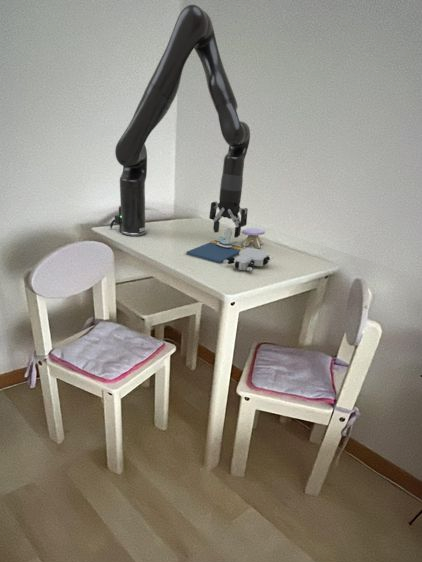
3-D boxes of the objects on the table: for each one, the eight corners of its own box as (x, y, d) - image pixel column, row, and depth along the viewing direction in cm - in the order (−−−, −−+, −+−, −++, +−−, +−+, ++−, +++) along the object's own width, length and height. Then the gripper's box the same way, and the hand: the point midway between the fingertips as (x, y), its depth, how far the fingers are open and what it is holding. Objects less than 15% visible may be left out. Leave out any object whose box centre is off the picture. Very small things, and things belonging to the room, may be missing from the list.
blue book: (186, 254, 151) (186, 251, 151) (215, 242, 166) (215, 239, 165) (220, 263, 146) (220, 260, 145) (246, 250, 160) (247, 247, 160)
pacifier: (228, 250, 156) (238, 246, 160) (230, 232, 153) (239, 229, 156) (213, 245, 160) (222, 241, 164) (214, 228, 156) (223, 225, 160)
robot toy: (250, 279, 138) (274, 265, 147) (252, 266, 135) (276, 253, 145) (220, 269, 144) (245, 256, 153) (220, 256, 141) (246, 244, 151)
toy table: (245, 249, 162) (247, 233, 159) (235, 242, 169) (237, 227, 166) (268, 248, 165) (270, 233, 162) (257, 241, 172) (259, 226, 169)
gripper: (254, 190, 148) (247, 237, 157) (219, 183, 154) (214, 228, 163) (244, 192, 143) (238, 241, 152) (208, 185, 149) (204, 232, 157)
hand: (226, 234), depth 157 cm, fingers open, 8 cm apart
